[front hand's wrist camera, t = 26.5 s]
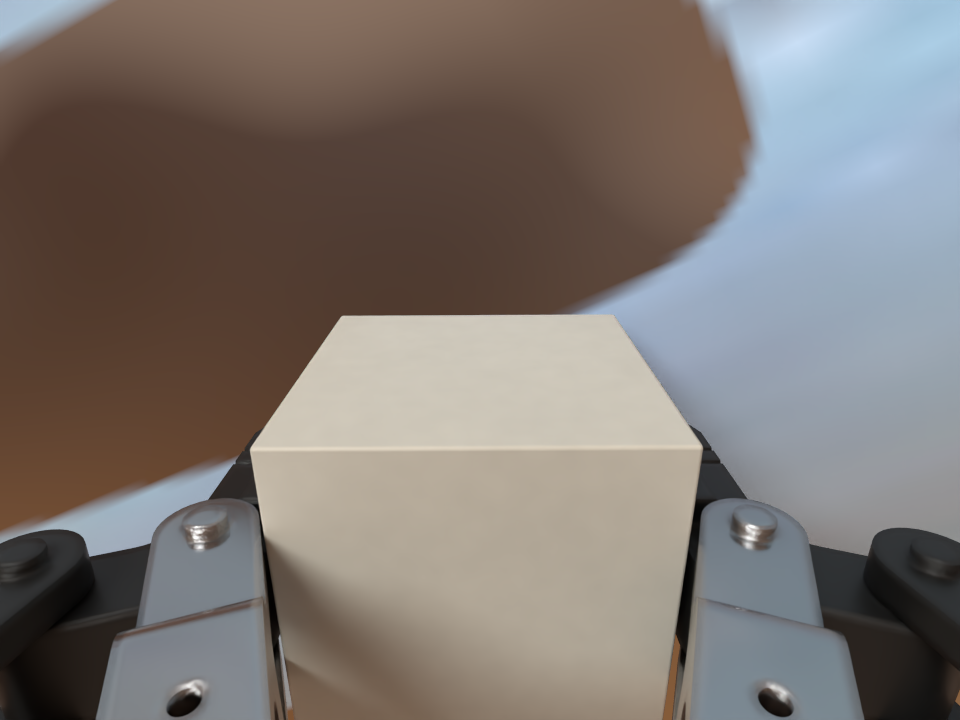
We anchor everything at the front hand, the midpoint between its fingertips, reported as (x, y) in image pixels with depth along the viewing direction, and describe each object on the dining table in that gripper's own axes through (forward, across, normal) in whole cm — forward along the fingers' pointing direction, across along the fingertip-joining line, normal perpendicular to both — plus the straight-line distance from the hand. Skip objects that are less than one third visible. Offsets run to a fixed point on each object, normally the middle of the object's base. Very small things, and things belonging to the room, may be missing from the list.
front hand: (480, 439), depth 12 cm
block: (+1, 0, 0) cm, 1 cm away
